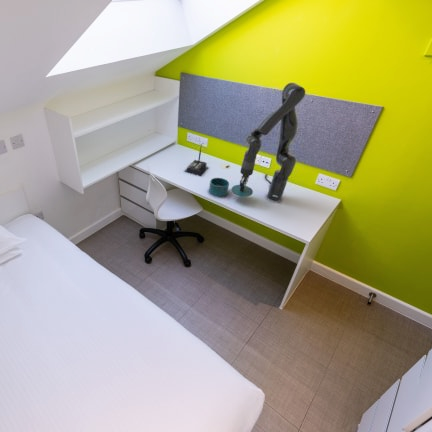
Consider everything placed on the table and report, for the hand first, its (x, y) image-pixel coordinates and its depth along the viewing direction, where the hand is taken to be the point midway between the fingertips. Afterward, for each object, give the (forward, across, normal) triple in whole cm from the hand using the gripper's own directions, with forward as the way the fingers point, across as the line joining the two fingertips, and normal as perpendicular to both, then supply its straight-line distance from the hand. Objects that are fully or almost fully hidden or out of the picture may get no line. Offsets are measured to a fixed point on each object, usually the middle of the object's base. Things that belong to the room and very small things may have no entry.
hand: (242, 189), depth 196 cm
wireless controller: (+9, +25, +43) cm, 51 cm away
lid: (+1, 0, 0) cm, 1 cm away
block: (+8, 0, +16) cm, 18 cm away
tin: (+8, 0, +16) cm, 18 cm away
